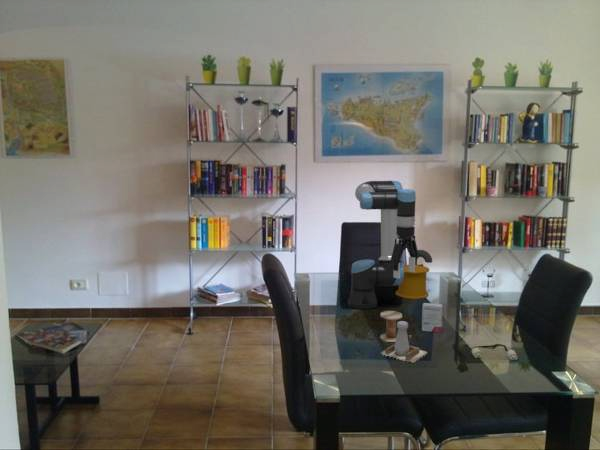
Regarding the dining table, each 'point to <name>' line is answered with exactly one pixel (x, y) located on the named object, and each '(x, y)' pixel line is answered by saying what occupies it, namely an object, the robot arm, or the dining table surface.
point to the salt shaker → (402, 339)
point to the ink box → (432, 317)
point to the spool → (413, 283)
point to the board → (411, 357)
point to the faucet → (424, 255)
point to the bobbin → (390, 325)
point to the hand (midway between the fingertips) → (404, 274)
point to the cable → (510, 353)
